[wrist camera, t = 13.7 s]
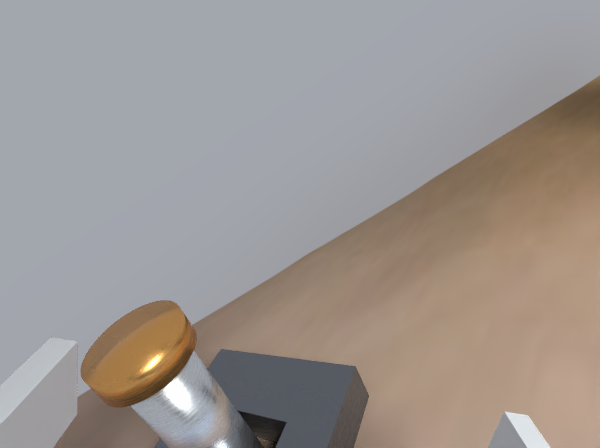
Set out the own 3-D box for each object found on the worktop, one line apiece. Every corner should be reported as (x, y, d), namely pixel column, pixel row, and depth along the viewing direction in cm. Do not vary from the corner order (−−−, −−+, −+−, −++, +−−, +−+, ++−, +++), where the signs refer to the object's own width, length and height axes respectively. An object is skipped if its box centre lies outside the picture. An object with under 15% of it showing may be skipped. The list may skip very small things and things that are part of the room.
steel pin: (299, 453, 24) (200, 301, 18) (264, 544, 20) (126, 393, 14) (240, 437, 26) (136, 299, 20) (199, 515, 23) (60, 376, 17)
